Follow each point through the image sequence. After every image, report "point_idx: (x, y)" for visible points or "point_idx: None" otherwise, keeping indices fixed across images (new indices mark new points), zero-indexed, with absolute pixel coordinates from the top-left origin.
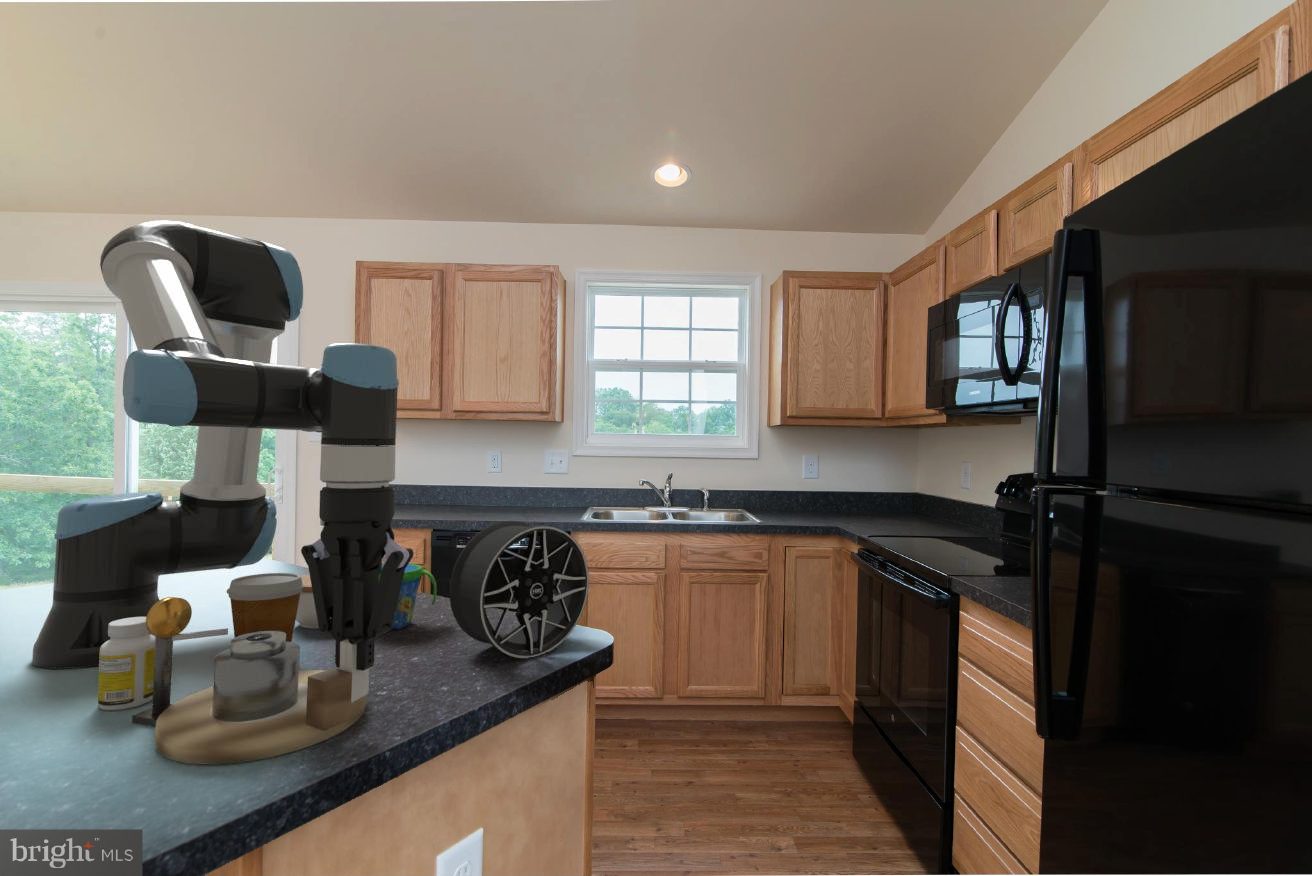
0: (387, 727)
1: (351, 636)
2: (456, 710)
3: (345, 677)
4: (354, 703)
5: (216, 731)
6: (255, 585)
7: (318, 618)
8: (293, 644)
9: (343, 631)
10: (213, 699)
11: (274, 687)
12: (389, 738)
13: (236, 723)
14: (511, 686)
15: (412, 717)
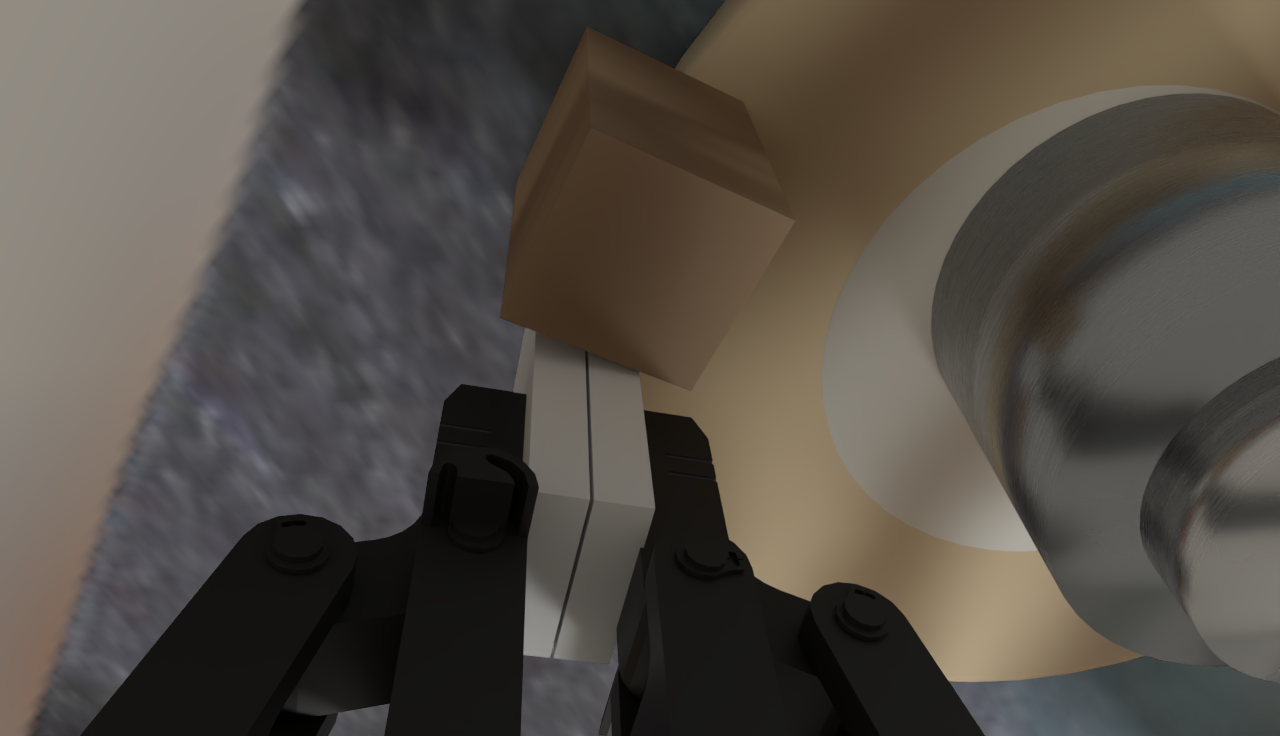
0: (419, 298)
1: (621, 609)
2: (186, 489)
3: (522, 263)
4: None
5: None
6: None
7: (939, 687)
8: (1124, 624)
9: (648, 589)
10: None
11: (1049, 267)
12: (335, 189)
13: (1148, 76)
14: (84, 718)
15: (358, 405)
